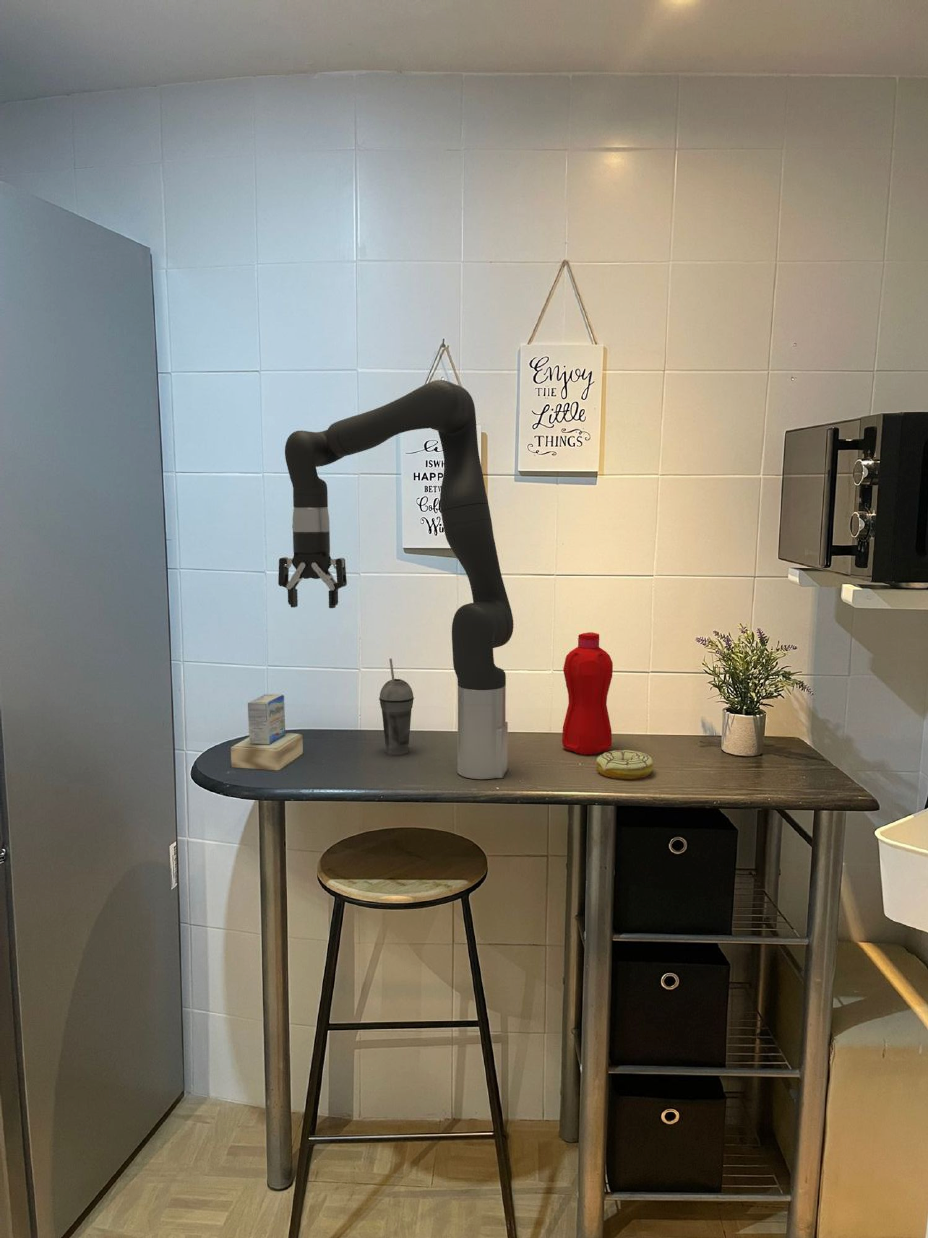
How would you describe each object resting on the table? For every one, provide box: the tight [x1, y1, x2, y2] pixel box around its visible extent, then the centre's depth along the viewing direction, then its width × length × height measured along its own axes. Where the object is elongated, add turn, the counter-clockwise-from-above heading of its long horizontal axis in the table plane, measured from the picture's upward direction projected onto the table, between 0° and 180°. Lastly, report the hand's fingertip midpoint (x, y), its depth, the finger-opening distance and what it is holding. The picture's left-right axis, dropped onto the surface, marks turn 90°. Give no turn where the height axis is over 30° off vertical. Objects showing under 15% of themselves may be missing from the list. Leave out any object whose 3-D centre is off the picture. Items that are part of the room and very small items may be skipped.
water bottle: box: [561, 631, 614, 756], centre depth 184 cm, size 9×11×25 cm
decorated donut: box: [596, 749, 654, 780], centre depth 169 cm, size 10×11×4 cm
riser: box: [230, 732, 304, 771], centre depth 177 cm, size 10×12×4 cm
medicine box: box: [247, 693, 286, 745], centre depth 176 cm, size 8×4×9 cm, turn 167°
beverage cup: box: [378, 658, 415, 756], centre depth 182 cm, size 7×7×20 cm
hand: (313, 607), depth 183 cm, fingers open, 8 cm apart
